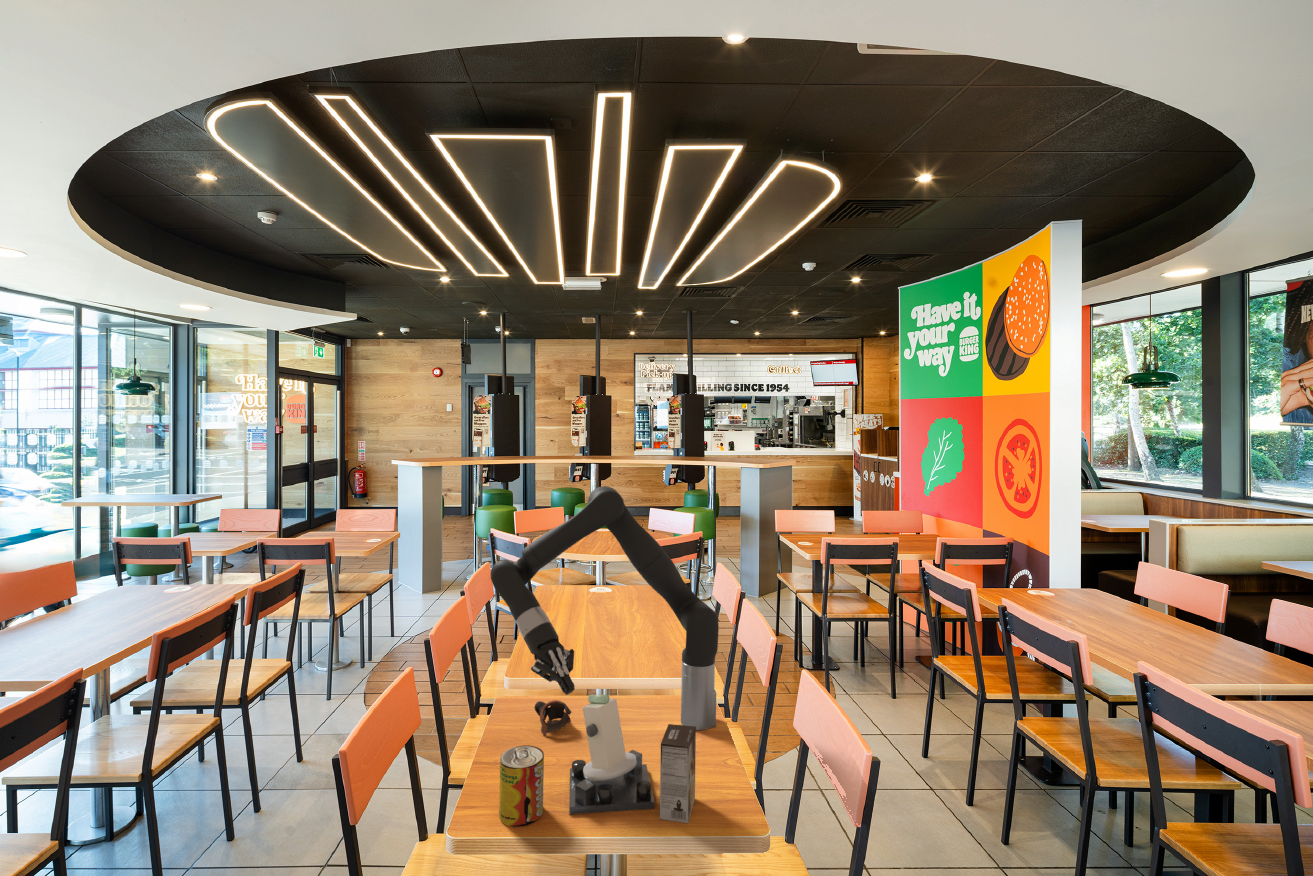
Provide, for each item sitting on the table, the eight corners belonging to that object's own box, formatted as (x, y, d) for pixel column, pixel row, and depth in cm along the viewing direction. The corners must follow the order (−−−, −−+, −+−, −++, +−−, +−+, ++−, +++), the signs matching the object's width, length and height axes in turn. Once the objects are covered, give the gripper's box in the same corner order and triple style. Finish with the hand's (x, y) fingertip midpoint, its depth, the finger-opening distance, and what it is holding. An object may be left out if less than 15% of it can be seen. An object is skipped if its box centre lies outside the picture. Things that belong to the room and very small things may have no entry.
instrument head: (610, 759, 144) (597, 685, 146) (648, 762, 137) (634, 685, 139) (572, 782, 134) (560, 702, 137) (612, 787, 127) (598, 703, 130)
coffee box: (666, 794, 135) (668, 722, 135) (695, 798, 133) (696, 725, 133) (658, 820, 126) (660, 742, 126) (689, 824, 124) (690, 746, 124)
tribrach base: (646, 769, 144) (646, 749, 144) (654, 809, 129) (654, 786, 129) (569, 774, 142) (570, 752, 142) (569, 815, 127) (569, 791, 127)
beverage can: (502, 831, 121) (503, 771, 121) (495, 806, 129) (496, 750, 129) (547, 820, 125) (548, 762, 125) (537, 796, 133) (538, 742, 133)
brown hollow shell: (579, 724, 168) (578, 705, 164) (558, 752, 161) (557, 733, 157) (544, 704, 173) (542, 686, 169) (523, 731, 166) (520, 712, 161)
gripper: (523, 627, 144) (558, 693, 137) (564, 615, 155) (598, 675, 147) (508, 645, 147) (541, 710, 140) (549, 632, 158) (582, 691, 150)
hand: (570, 692), depth 143 cm, fingers closed
